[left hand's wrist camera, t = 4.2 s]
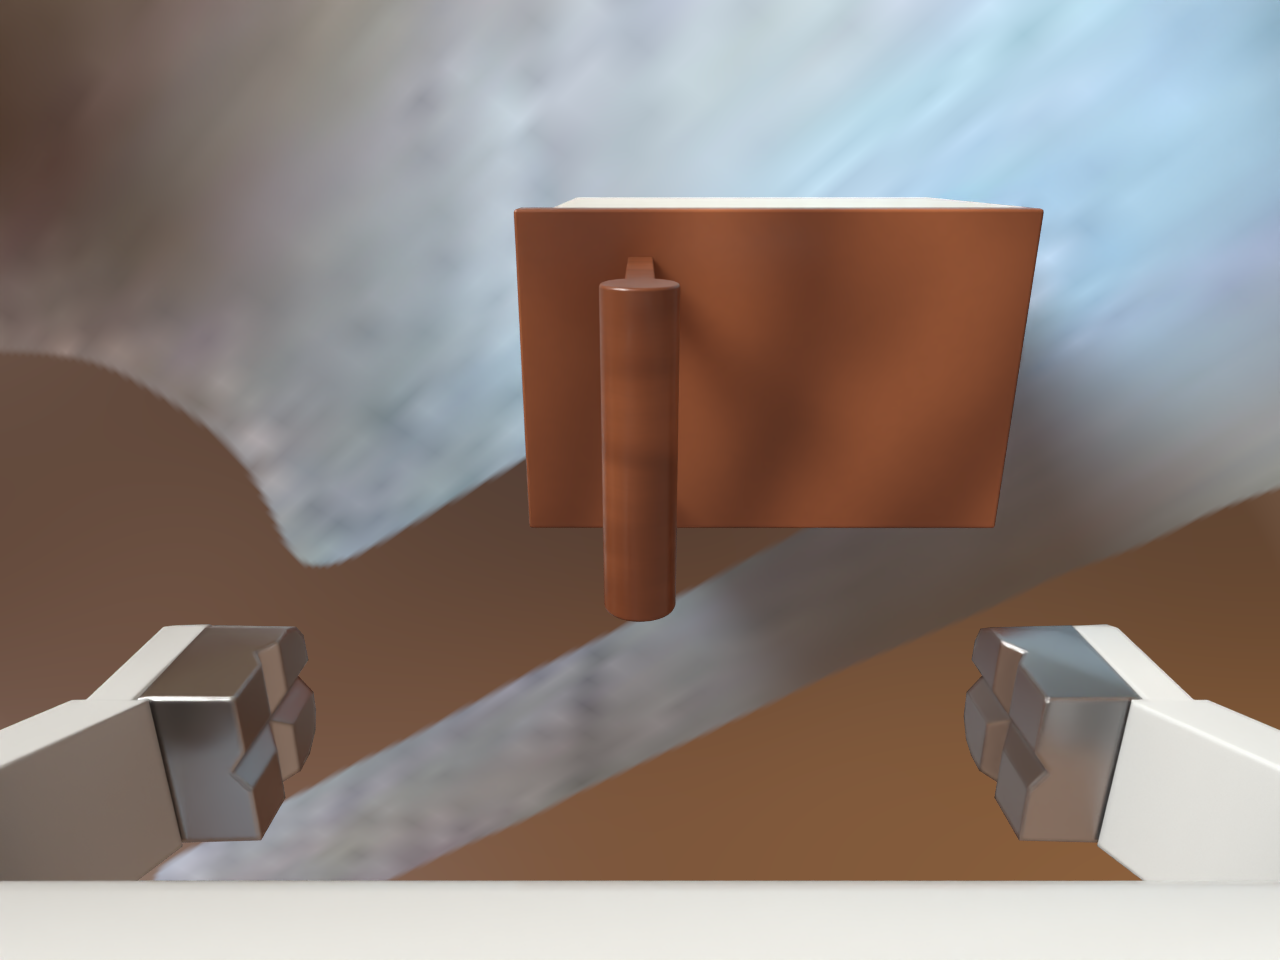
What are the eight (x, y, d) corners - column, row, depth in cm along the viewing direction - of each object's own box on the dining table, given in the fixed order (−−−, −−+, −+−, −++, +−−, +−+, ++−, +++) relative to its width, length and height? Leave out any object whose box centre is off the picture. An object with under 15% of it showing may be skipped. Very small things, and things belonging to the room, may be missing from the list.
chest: (581, 434, 36) (562, 515, 28) (575, 197, 33) (551, 207, 24) (902, 434, 36) (982, 515, 27) (928, 197, 33) (1028, 207, 24)
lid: (533, 516, 27) (485, 666, 19) (518, 207, 24) (453, 227, 16) (982, 516, 27) (1130, 667, 19) (1029, 207, 24) (1232, 226, 16)
